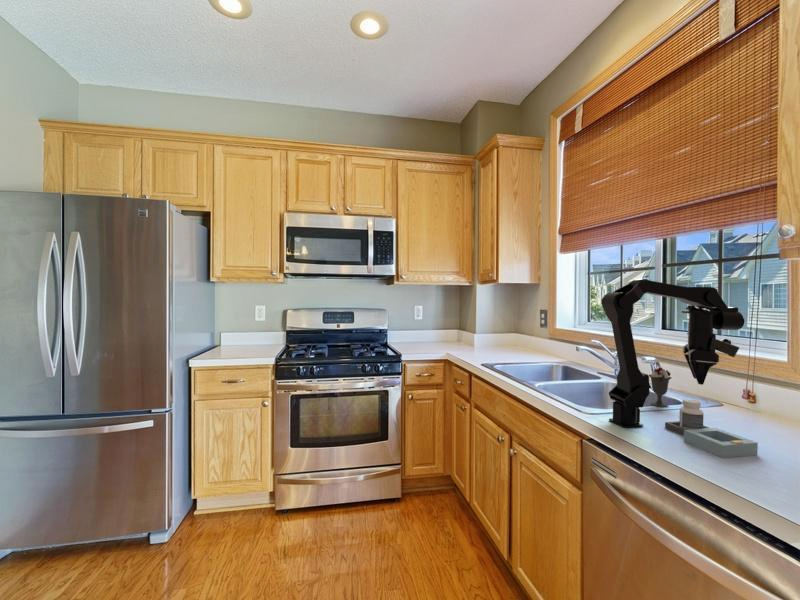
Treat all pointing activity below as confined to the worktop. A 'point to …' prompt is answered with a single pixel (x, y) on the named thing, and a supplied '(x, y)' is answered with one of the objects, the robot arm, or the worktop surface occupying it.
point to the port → (721, 442)
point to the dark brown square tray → (676, 427)
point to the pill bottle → (691, 415)
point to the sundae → (660, 384)
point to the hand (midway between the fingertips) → (698, 381)
